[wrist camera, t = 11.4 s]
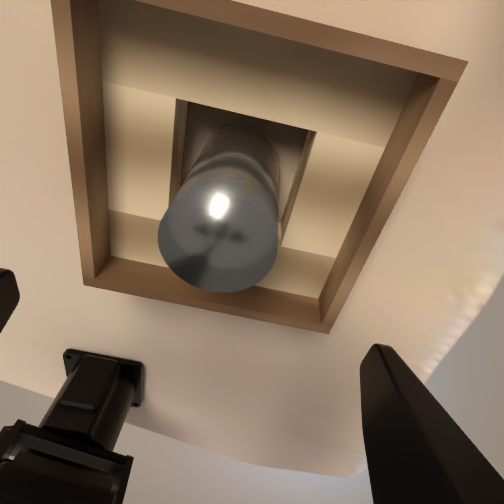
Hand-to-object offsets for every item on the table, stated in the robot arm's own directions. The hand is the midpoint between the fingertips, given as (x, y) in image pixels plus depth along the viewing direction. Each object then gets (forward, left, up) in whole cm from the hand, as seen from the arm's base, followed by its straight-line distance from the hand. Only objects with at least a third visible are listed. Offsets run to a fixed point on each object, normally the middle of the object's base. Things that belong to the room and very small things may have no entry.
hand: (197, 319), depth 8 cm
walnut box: (0, 0, -11) cm, 11 cm away
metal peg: (0, 0, -11) cm, 11 cm away
